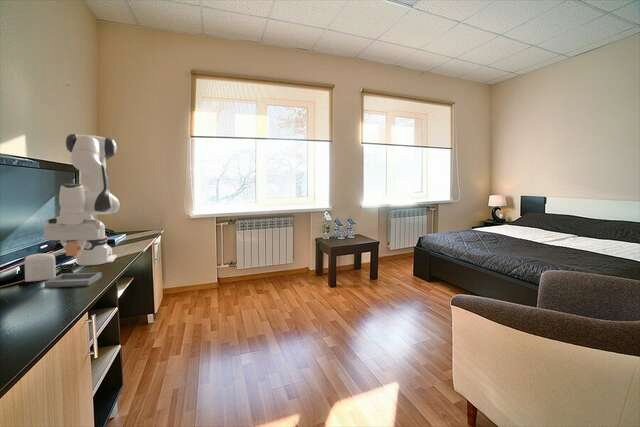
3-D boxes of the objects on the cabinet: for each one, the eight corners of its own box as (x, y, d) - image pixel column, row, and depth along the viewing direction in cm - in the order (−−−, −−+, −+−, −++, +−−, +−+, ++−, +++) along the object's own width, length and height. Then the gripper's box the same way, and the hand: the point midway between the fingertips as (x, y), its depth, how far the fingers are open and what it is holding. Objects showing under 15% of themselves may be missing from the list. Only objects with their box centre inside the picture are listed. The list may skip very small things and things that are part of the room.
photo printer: (56, 277, 136) (56, 251, 135) (54, 279, 132) (53, 253, 131) (26, 280, 130) (25, 253, 129) (23, 282, 126) (22, 255, 125)
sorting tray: (61, 279, 133) (61, 273, 133) (101, 277, 138) (101, 272, 137) (44, 287, 122) (44, 282, 122) (88, 285, 126) (88, 280, 126)
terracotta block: (71, 253, 130) (70, 240, 129) (81, 253, 131) (81, 240, 130) (66, 255, 126) (65, 242, 125) (76, 255, 127) (76, 242, 127)
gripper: (103, 219, 133) (103, 247, 134) (50, 218, 128) (51, 248, 129) (96, 220, 127) (97, 250, 128) (40, 219, 121) (41, 251, 123)
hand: (73, 249), depth 128 cm, fingers closed on terracotta block, 4 cm apart
